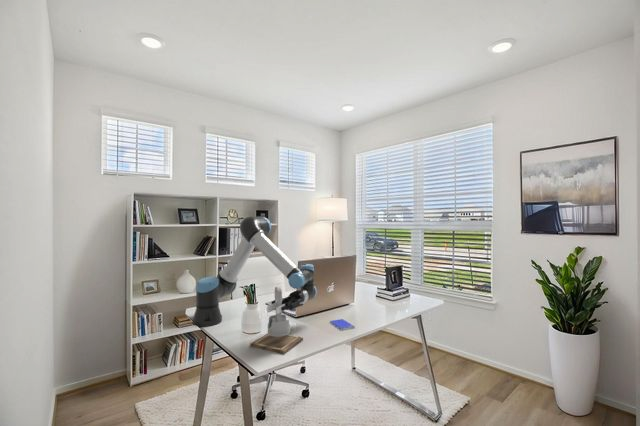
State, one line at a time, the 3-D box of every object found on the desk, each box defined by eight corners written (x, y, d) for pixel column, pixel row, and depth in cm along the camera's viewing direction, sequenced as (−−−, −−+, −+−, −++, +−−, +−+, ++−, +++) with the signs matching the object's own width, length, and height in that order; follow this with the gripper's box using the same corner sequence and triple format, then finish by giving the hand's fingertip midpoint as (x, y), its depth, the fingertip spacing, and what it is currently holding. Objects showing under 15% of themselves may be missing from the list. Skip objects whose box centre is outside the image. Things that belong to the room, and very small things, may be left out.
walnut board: (250, 346, 137) (250, 342, 137) (270, 333, 151) (270, 331, 151) (284, 354, 129) (284, 350, 129) (302, 340, 144) (302, 337, 144)
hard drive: (354, 326, 160) (343, 318, 171) (341, 328, 157) (330, 320, 168) (354, 329, 160) (343, 321, 171) (341, 331, 157) (330, 323, 168)
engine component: (270, 337, 133) (292, 334, 137) (269, 290, 133) (292, 288, 137) (265, 329, 143) (286, 326, 147) (265, 285, 144) (286, 283, 147)
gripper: (313, 307, 154) (288, 321, 133) (284, 303, 161) (256, 315, 140) (313, 292, 154) (288, 304, 133) (284, 288, 161) (256, 299, 140)
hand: (272, 310), depth 136 cm, fingers closed on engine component, 4 cm apart
